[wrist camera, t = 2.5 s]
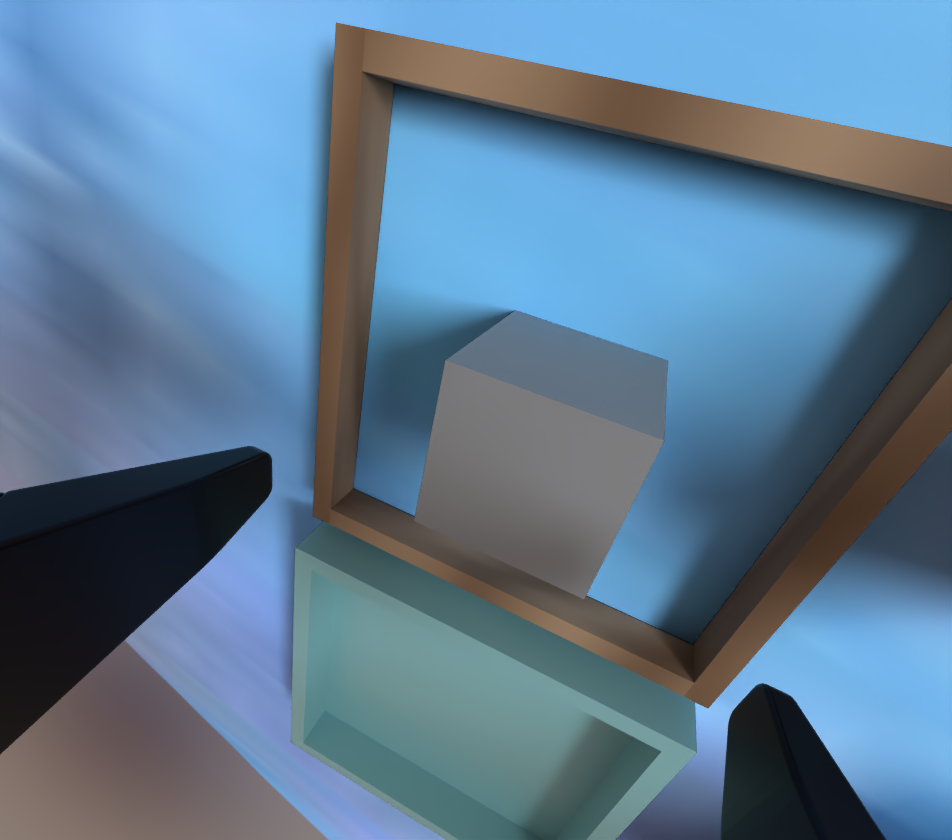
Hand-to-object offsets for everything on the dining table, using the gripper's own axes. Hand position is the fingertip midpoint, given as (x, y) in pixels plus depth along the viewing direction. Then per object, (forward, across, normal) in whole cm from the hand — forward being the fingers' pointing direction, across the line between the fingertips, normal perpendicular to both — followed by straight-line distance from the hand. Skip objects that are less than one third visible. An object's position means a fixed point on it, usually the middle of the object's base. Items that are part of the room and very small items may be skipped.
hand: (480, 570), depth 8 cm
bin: (+8, 0, +16) cm, 18 cm away
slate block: (+8, 0, 0) cm, 8 cm away
